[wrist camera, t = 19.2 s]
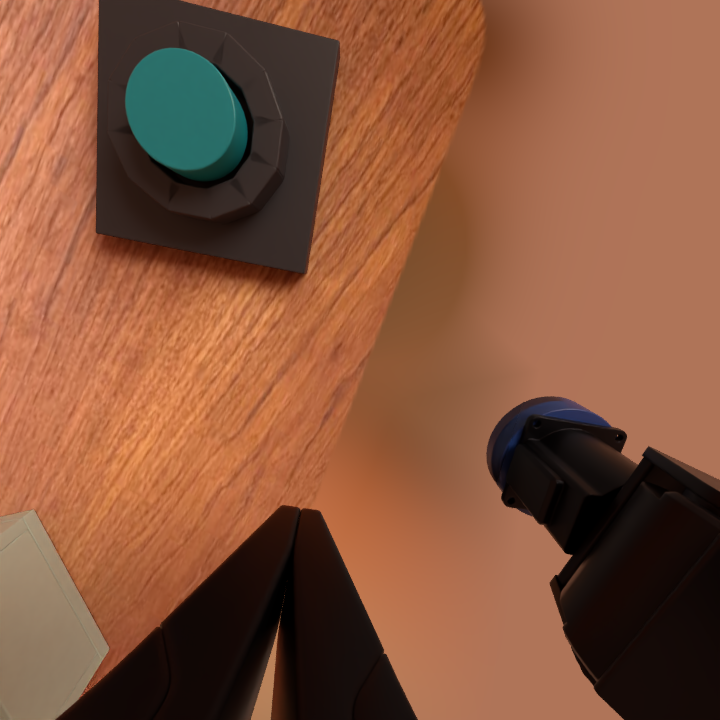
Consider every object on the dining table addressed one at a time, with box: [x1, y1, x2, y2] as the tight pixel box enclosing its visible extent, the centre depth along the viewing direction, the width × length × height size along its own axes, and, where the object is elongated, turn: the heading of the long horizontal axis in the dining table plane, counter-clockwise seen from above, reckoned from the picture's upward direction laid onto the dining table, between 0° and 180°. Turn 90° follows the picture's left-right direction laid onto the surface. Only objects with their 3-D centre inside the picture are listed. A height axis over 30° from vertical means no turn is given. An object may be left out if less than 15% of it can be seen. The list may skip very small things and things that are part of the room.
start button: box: [125, 48, 248, 182], centre depth 14 cm, size 4×4×2 cm
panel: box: [96, 0, 340, 274], centre depth 16 cm, size 10×10×3 cm
